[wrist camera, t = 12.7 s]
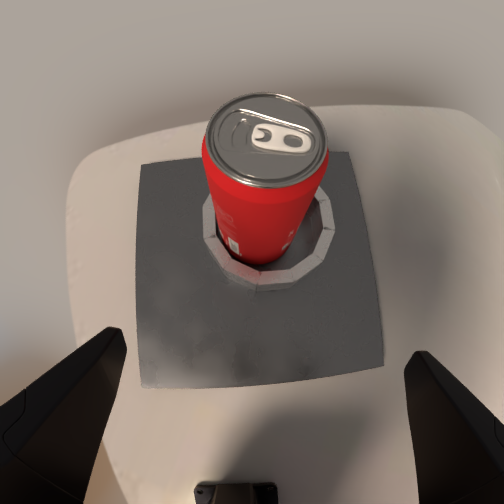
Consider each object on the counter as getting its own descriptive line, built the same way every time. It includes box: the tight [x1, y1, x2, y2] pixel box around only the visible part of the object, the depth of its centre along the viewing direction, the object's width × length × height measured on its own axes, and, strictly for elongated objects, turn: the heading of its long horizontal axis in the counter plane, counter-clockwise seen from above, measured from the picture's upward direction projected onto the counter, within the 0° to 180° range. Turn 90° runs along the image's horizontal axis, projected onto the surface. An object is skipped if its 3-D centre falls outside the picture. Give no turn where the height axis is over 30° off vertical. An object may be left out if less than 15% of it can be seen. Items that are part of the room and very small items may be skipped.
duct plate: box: [136, 152, 384, 389], centre depth 21 cm, size 18×18×4 cm
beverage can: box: [202, 92, 329, 264], centre depth 17 cm, size 5×5×12 cm
